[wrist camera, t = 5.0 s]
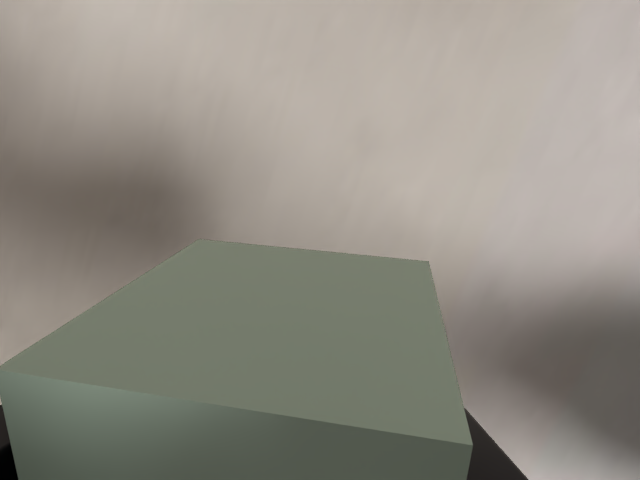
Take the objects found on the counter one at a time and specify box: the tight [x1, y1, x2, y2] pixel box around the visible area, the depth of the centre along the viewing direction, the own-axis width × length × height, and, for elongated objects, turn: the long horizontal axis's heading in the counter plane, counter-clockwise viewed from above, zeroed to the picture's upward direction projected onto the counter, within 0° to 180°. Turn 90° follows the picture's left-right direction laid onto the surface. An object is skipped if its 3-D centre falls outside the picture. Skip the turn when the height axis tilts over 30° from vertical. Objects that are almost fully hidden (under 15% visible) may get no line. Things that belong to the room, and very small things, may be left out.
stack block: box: [0, 239, 473, 480], centre depth 7 cm, size 5×5×5 cm
